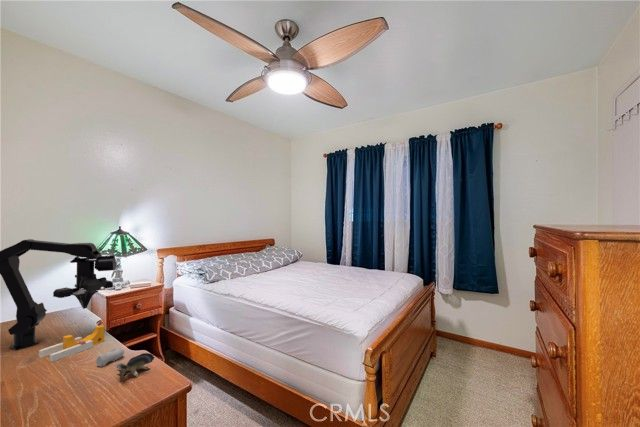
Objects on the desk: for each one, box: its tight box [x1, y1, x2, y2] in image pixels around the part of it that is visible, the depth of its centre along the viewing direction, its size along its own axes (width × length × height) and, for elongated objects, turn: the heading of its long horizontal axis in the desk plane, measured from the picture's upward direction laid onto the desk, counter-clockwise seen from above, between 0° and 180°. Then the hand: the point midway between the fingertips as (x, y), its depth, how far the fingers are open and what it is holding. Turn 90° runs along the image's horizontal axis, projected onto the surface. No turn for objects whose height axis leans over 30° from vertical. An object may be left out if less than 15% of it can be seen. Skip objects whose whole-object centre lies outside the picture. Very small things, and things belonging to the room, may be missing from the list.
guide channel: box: [38, 336, 94, 363], centre depth 99 cm, size 9×12×3 cm
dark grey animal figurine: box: [115, 352, 156, 382], centre depth 84 cm, size 8×7×9 cm
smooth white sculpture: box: [95, 347, 125, 368], centre depth 92 cm, size 4×8×5 cm
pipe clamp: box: [62, 324, 105, 350], centre depth 103 cm, size 12×4×6 cm, turn 155°
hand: (84, 308), depth 112 cm, fingers closed
